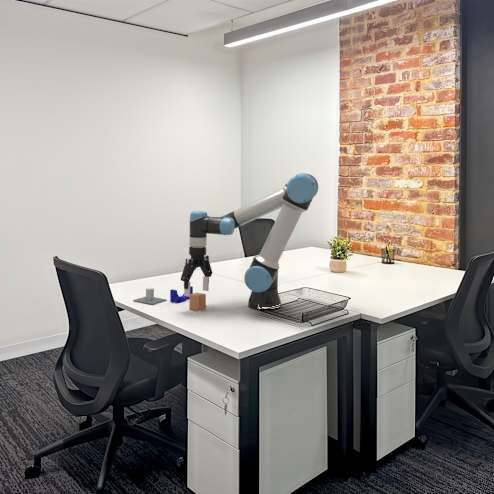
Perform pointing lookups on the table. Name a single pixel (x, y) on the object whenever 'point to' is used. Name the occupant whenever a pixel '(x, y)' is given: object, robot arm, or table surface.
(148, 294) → the stand
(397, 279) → the table surface
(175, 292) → the blue arch bracket
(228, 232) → the robot arm
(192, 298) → the peach clay cube
